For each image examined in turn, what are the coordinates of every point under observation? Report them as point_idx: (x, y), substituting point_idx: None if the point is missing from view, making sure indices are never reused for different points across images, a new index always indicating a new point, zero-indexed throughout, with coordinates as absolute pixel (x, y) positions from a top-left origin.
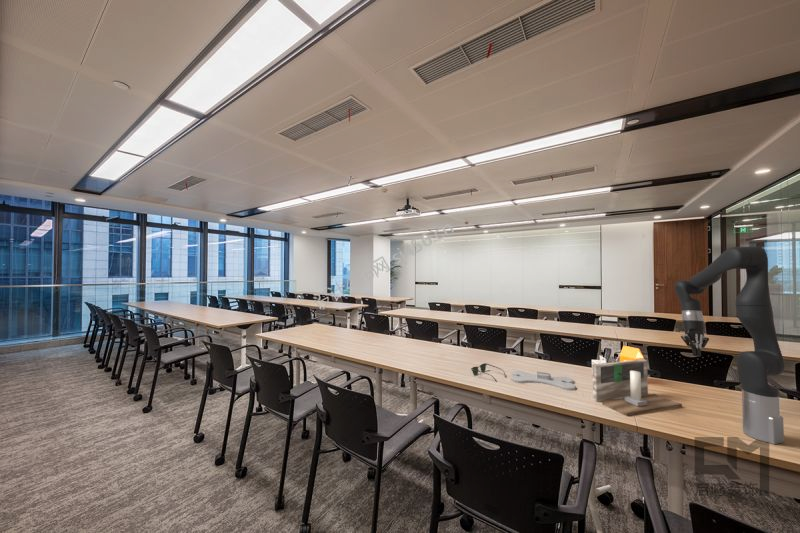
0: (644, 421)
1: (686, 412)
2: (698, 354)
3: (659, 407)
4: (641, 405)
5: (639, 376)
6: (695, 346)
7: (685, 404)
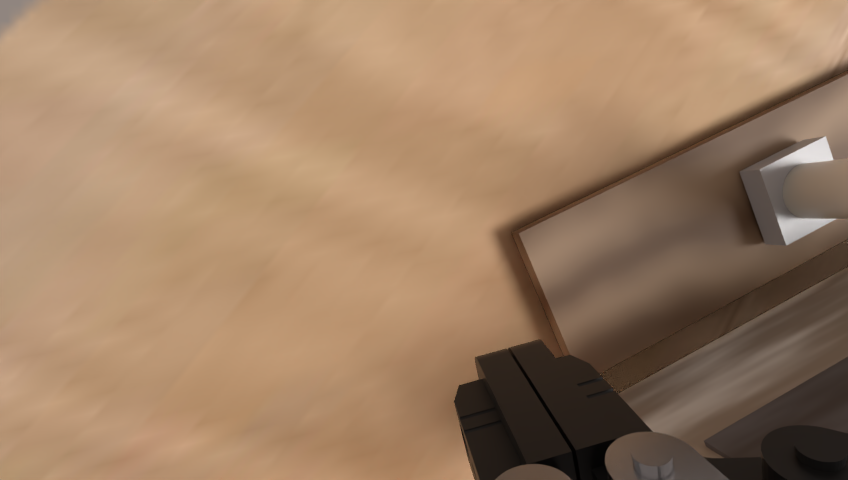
0: (826, 6)
1: (537, 155)
2: (541, 354)
3: (687, 152)
4: (781, 150)
5: None
6: (709, 474)
7: (456, 283)
